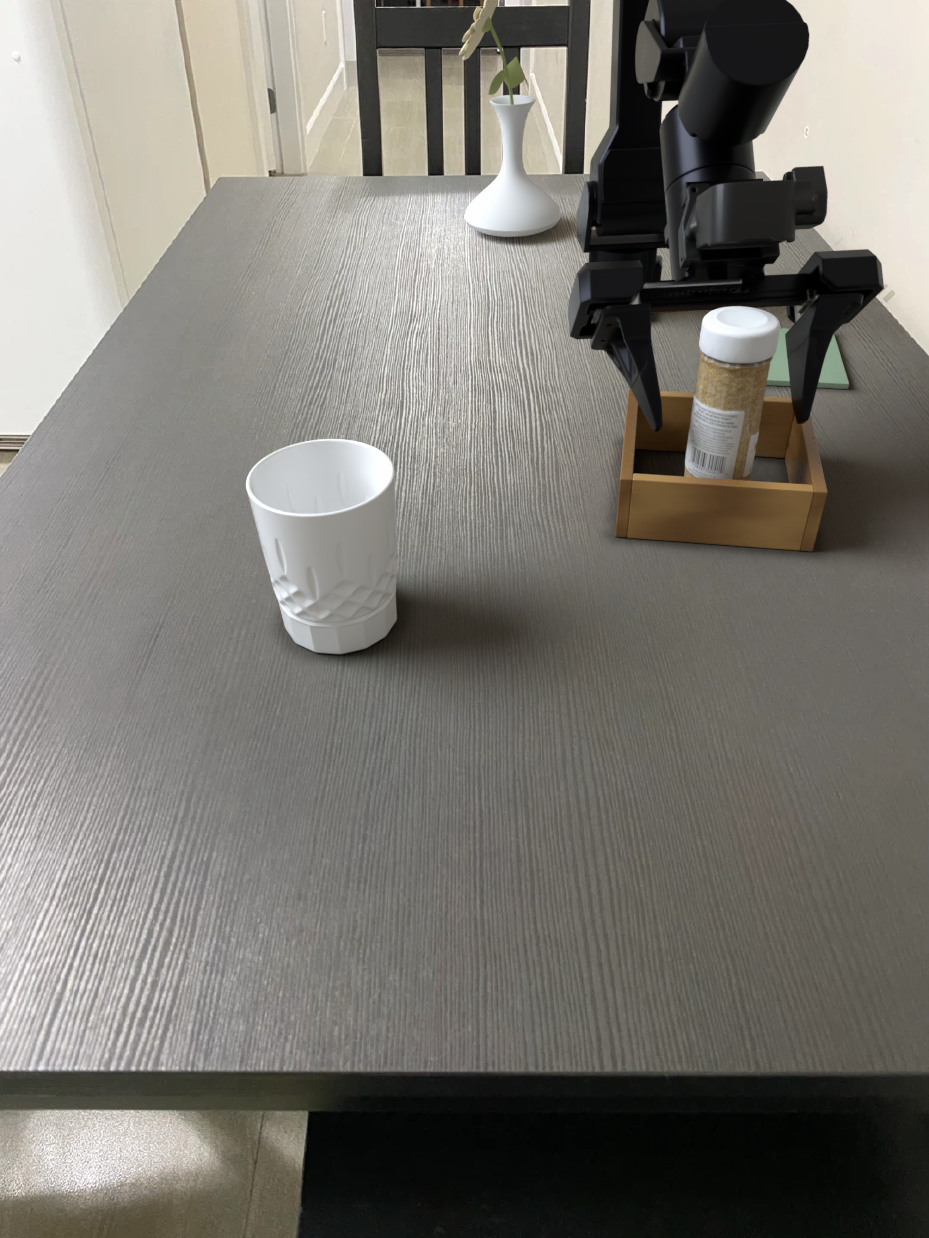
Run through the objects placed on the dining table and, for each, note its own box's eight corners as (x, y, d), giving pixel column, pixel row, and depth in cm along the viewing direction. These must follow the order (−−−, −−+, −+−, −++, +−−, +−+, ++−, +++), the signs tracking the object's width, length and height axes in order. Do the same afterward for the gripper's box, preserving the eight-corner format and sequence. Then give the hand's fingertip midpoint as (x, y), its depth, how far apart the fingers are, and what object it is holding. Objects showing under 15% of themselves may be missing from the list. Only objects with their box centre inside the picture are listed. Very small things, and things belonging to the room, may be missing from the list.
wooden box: (614, 537, 62) (619, 478, 59) (623, 443, 71) (628, 389, 69) (812, 552, 60) (828, 492, 57) (794, 453, 69) (807, 398, 67)
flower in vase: (499, 210, 117) (497, -32, 101) (578, 224, 112) (590, -29, 96) (436, 240, 109) (424, -18, 93) (518, 257, 104) (520, -13, 88)
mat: (711, 382, 79) (712, 377, 78) (708, 330, 87) (709, 325, 87) (848, 389, 77) (849, 383, 77) (831, 335, 85) (833, 330, 85)
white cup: (280, 583, 59) (252, 443, 53) (405, 574, 59) (392, 433, 53) (271, 667, 53) (238, 521, 47) (409, 657, 53) (396, 509, 47)
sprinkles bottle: (759, 512, 64) (798, 320, 55) (710, 535, 62) (743, 340, 53) (710, 483, 67) (740, 297, 58) (662, 504, 65) (686, 315, 56)
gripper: (583, 118, 52) (603, 390, 51) (914, 103, 53) (944, 372, 51) (560, 222, 63) (576, 447, 62) (833, 209, 64) (856, 432, 62)
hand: (730, 426), depth 59 cm, fingers open, 9 cm apart
